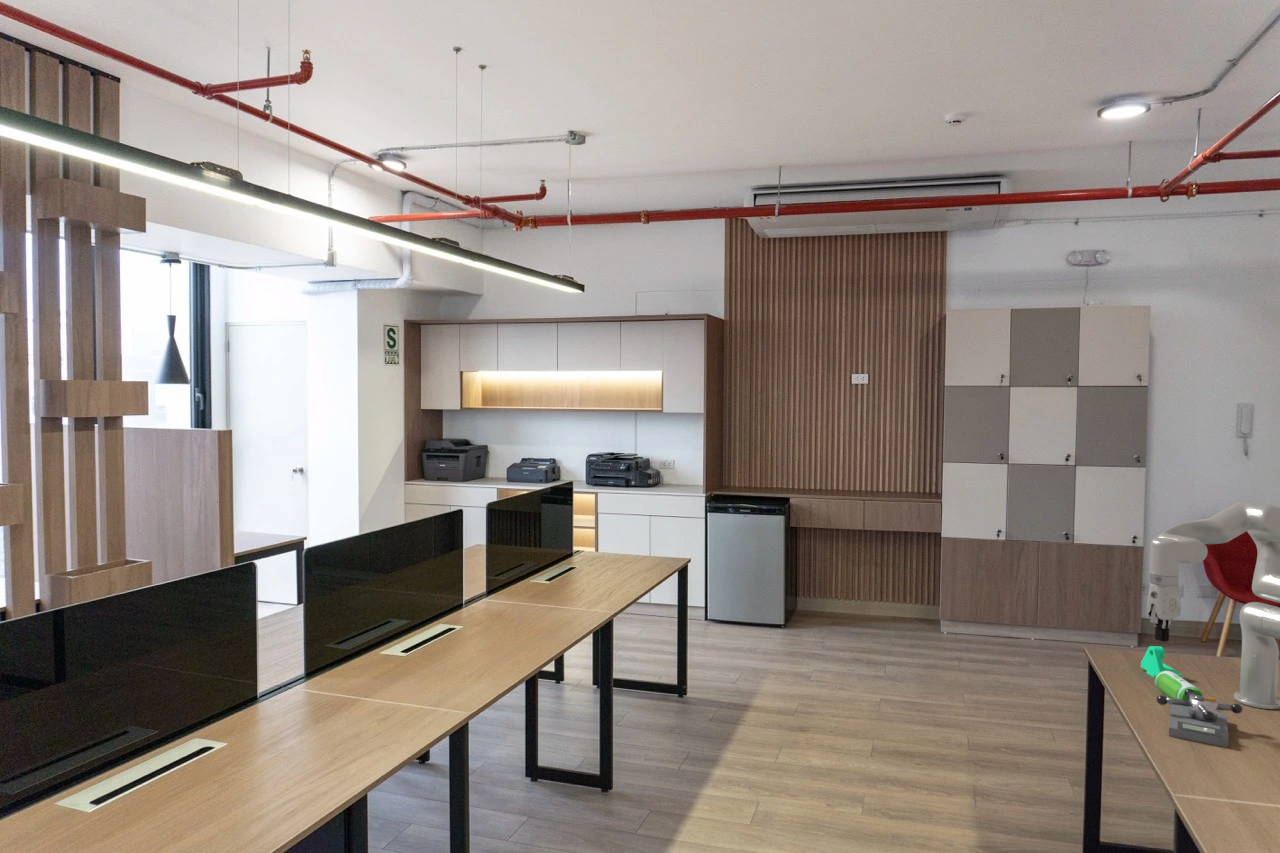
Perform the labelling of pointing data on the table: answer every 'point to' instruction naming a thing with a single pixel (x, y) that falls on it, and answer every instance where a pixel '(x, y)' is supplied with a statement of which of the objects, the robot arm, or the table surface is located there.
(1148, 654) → the camera mount
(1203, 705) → the capstan
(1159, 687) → the speaker
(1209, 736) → the stand
